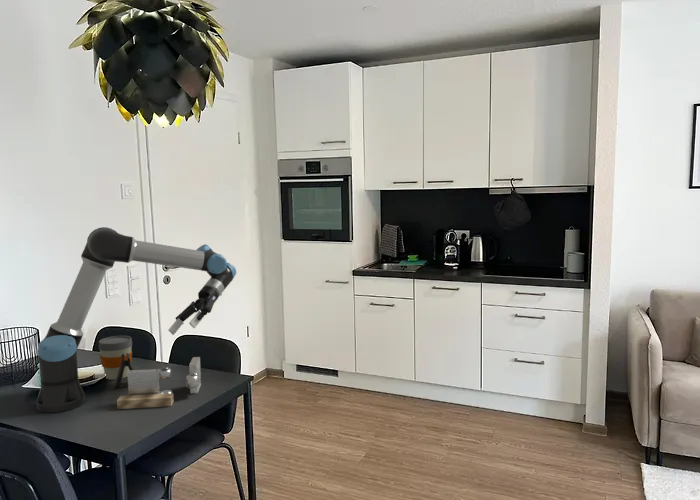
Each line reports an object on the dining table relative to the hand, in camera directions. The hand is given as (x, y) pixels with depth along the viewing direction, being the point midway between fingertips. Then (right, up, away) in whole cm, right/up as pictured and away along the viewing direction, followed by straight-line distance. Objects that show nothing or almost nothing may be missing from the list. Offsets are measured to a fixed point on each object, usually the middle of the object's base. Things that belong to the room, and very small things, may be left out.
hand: (181, 329), depth 203 cm
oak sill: (-8, -25, -15) cm, 30 cm away
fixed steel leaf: (-8, -24, -10) cm, 27 cm away
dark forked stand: (-22, -23, +5) cm, 32 cm away
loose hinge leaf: (+6, -23, -2) cm, 24 cm away
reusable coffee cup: (-31, -21, +16) cm, 41 cm away
